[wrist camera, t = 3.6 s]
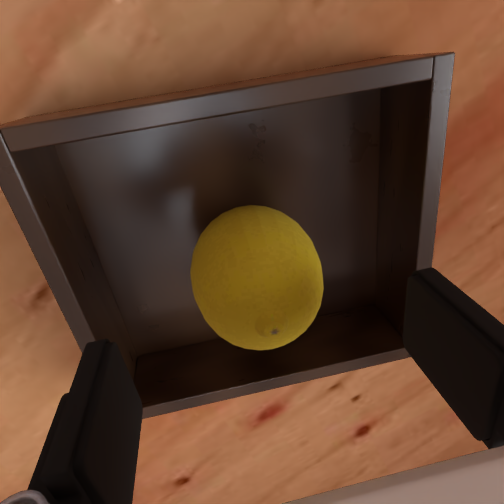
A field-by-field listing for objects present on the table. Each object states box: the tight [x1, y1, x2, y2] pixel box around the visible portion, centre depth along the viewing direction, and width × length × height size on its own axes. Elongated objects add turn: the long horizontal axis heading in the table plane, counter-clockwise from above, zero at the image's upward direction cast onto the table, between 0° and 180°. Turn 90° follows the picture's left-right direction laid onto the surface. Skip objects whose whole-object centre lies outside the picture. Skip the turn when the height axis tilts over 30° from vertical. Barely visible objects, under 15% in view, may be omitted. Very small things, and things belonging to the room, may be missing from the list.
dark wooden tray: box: [0, 52, 455, 419], centre depth 17 cm, size 17×15×4 cm
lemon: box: [190, 205, 324, 350], centre depth 16 cm, size 6×6×8 cm
